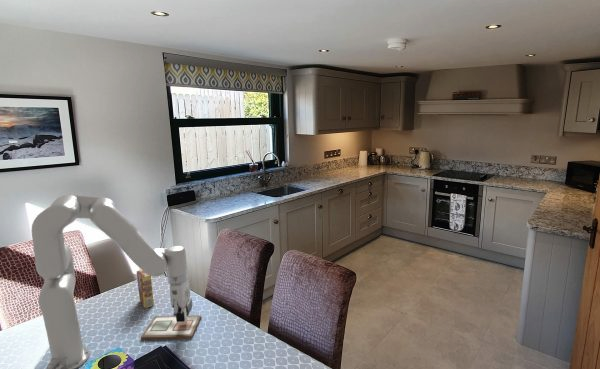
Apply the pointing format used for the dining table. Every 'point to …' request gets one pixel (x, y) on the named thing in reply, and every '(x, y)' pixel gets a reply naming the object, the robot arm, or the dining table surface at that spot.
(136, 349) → the dining table surface
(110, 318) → the dining table surface
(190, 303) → the button housing
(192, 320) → the picture board
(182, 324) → the cylinder
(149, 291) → the candy box
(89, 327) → the dining table surface
